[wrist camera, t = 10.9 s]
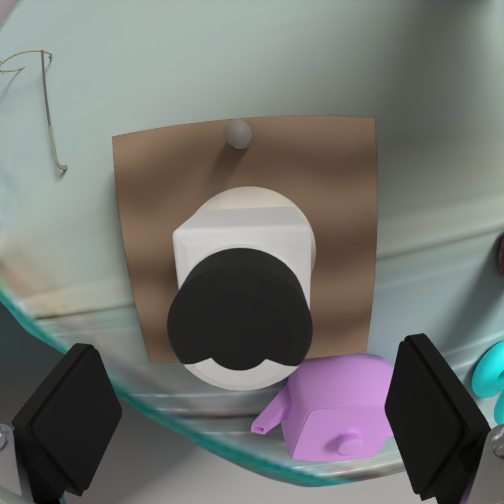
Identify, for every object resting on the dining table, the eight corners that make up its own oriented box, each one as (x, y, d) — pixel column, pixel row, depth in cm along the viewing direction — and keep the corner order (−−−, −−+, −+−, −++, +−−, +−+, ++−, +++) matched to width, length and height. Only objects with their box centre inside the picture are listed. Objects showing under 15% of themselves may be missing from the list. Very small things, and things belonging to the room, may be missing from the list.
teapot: (247, 409, 34) (243, 475, 25) (259, 340, 31) (259, 409, 22) (380, 412, 35) (402, 468, 25) (409, 350, 32) (447, 405, 22)
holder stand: (135, 139, 26) (84, 133, 17) (354, 124, 25) (398, 109, 16) (163, 334, 31) (135, 390, 22) (352, 325, 31) (380, 380, 22)
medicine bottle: (196, 209, 22) (134, 260, 11) (295, 205, 22) (335, 254, 10) (205, 299, 24) (166, 405, 13) (295, 297, 24) (322, 405, 12)
